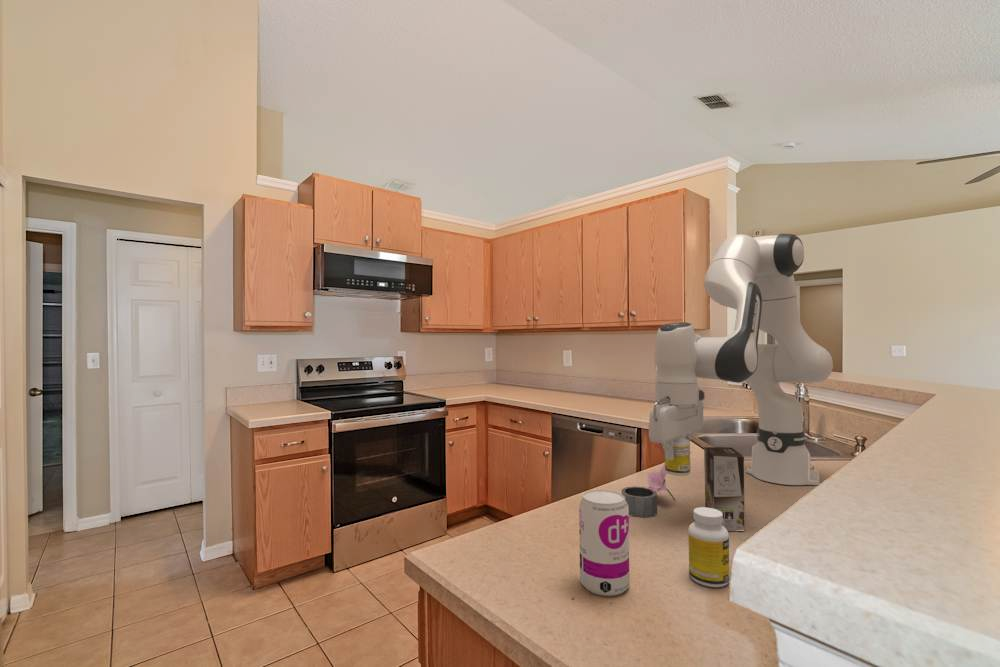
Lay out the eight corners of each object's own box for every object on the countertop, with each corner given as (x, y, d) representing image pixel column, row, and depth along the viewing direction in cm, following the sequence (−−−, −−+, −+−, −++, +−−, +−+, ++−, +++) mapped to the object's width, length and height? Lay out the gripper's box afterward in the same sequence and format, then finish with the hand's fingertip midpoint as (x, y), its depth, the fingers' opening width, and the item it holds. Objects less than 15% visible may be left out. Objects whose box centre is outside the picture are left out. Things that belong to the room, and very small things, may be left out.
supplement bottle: (668, 468, 111) (668, 426, 111) (693, 471, 107) (692, 428, 108) (661, 473, 106) (661, 429, 106) (686, 477, 103) (686, 432, 103)
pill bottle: (722, 593, 78) (721, 522, 78) (682, 579, 82) (681, 512, 82) (735, 578, 82) (734, 511, 82) (697, 566, 87) (696, 502, 87)
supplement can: (639, 593, 78) (638, 501, 78) (594, 601, 76) (592, 507, 76) (613, 570, 86) (612, 486, 86) (572, 577, 83) (571, 491, 84)
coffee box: (746, 532, 101) (745, 456, 101) (713, 530, 103) (712, 455, 103) (734, 516, 110) (733, 446, 110) (704, 514, 112) (703, 445, 112)
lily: (651, 493, 130) (634, 464, 129) (693, 483, 124) (675, 452, 123) (645, 522, 119) (626, 490, 119) (690, 512, 114) (671, 478, 113)
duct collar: (632, 502, 120) (632, 484, 120) (662, 510, 114) (662, 491, 114) (615, 511, 114) (615, 492, 114) (646, 519, 109) (646, 500, 109)
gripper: (668, 401, 97) (670, 468, 97) (708, 391, 112) (709, 450, 112) (640, 398, 102) (641, 463, 102) (681, 389, 116) (682, 446, 116)
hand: (677, 456), depth 107 cm, fingers closed on supplement bottle, 5 cm apart
